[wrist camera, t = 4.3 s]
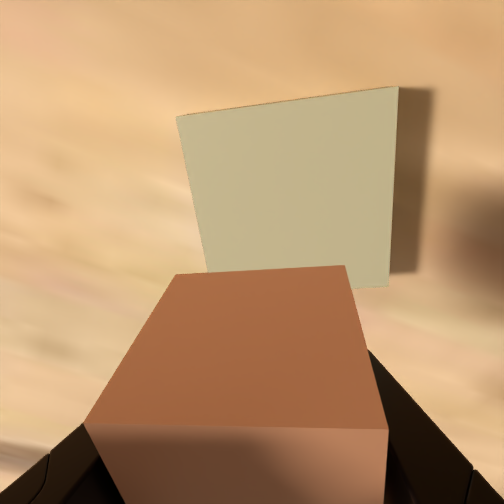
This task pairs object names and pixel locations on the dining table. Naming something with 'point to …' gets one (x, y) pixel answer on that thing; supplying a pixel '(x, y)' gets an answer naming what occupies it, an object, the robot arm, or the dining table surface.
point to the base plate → (296, 183)
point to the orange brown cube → (246, 395)
